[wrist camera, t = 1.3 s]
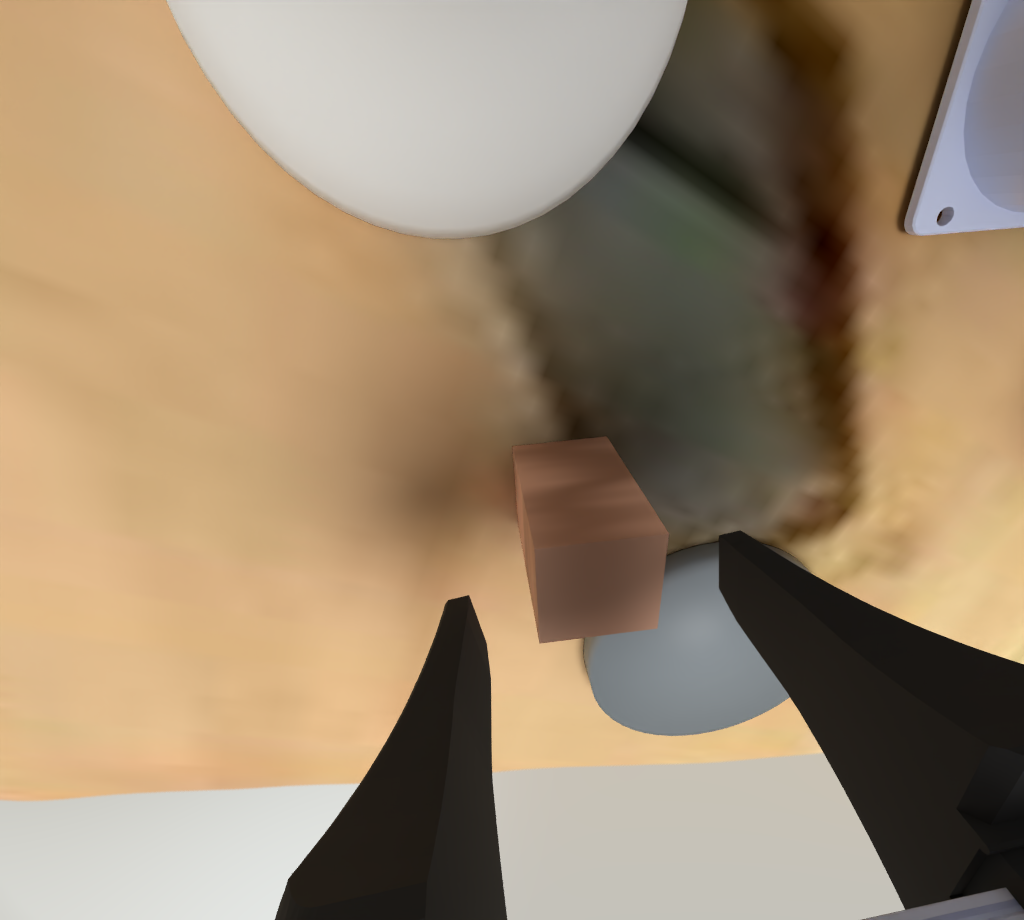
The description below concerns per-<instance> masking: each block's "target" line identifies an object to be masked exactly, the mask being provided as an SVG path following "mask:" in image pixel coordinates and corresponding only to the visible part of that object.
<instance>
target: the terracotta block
mask: <svg viewBox="0 0 1024 920" xmlns="http://www.w3.org/2000/svg"><path fill="white" fill-rule="evenodd" d="M512 450H513V463H514V477H515V490H516V504H517V517H518V527H519V532H520V538H521V543H522V549H523V554H524V560H525V565H526V571H527V577H528V582H529V588H530V593H531V599H532V604H533V610H534V615H535V621H536V626H537V632H538V638H539V643H547V642H555V641H563V640H571V639H579V638H587V637H595V636H602V635H610V634H618V633H626V632H634V631H642V630H650V629H657V628H658V620H659V612H660V604H661V595H662V587H663V579H664V571H665V563H666V555H667V547H668V539H669V533H668V531H667V530H666V528H665V527H664V525H663V523H662V522H661V520H660V519H659V517H658V516H657V514H656V512H655V511H654V509H653V508H652V506H651V505H650V503H649V502H648V500H647V498H646V497H645V495H644V494H643V492H642V491H641V489H640V488H639V486H638V484H637V483H636V481H635V480H634V478H633V477H632V475H631V474H630V472H629V470H628V469H627V467H626V466H625V464H624V463H623V461H622V459H621V458H620V456H619V455H618V453H617V452H616V450H615V449H614V447H613V445H612V444H611V442H610V441H609V439H608V438H607V436H606V437H596V438H586V439H577V440H567V441H557V442H548V443H538V444H528V445H519V446H512Z"/></svg>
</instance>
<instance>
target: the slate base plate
mask: <svg viewBox="0 0 1024 920" xmlns="http://www.w3.org/2000/svg"><path fill="white" fill-rule="evenodd" d="M763 545H765V546H766V547H768V548H769V549H771V550H773V551H774V552H776V553H778V554H779V555H781V556H782V557H784V558H786V559H787V560H789V561H791V562H792V563H794V564H796V565H797V566H799V567H801V568H802V569H804V570H806V571H808V572H809V570H808V569H807V568H806V567H805V566H804V565H803V564H802V563H801V562H800V561H799V560H797V559H796V558H794V557H793V556H792V555H790V554H788V553H786V552H784V551H782V550H780V549H778V548H775V547H772V546H769V545H766V544H763ZM809 573H810V572H809ZM583 652H584V662H585V665H586V669H587V673H588V676H589V680H590V684H591V687H592V691H593V694H594V697H595V699H596V701H597V703H598V705H599V706H600V707H601V709H602V710H603V711H604V712H605V713H606V714H607V715H608V716H609V717H611V718H612V719H613V720H615V721H616V722H618V723H620V724H621V725H623V726H626V727H628V728H630V729H633V730H636V731H640V732H644V733H649V734H655V735H667V736H682V735H693V734H701V733H707V732H712V731H716V730H720V729H724V728H728V727H731V726H734V725H737V724H740V723H742V722H745V721H747V720H750V719H752V718H754V717H757V716H759V715H761V714H763V713H765V712H767V711H769V710H770V709H772V708H774V707H775V706H777V705H779V704H780V703H782V702H783V701H785V700H786V699H788V698H789V697H790V696H789V695H788V693H787V692H786V690H785V689H784V688H783V686H782V685H781V683H780V682H779V681H778V679H777V678H776V676H775V675H774V673H773V672H772V671H771V669H770V668H769V666H768V665H767V664H766V662H765V661H764V659H763V658H762V657H761V655H760V654H759V652H758V651H757V650H756V648H755V647H754V645H753V644H752V643H751V641H750V640H749V638H748V637H747V635H746V634H745V633H744V631H743V630H742V628H741V627H740V625H739V624H738V623H737V621H736V619H735V617H734V616H733V614H732V612H731V610H730V609H729V607H728V605H727V603H726V601H725V599H724V597H723V595H722V593H721V592H720V590H719V542H716V543H710V544H704V545H699V546H695V547H692V548H688V549H684V550H681V551H678V552H676V553H673V554H670V555H668V556H666V563H665V571H664V579H663V587H662V595H661V604H660V612H659V620H658V628H657V629H650V630H642V631H634V632H626V633H618V634H610V635H602V636H595V637H587V638H585V639H584V649H583Z"/></svg>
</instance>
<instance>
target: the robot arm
mask: <svg viewBox="0 0 1024 920" xmlns="http://www.w3.org/2000/svg"><path fill="white" fill-rule="evenodd" d="M941 211H942V216H941V218H940V220H939V221H938V222H937V216H938V215H939V213H940V212H941ZM904 227H905V231H906V232H907V233H908V234H910V235H920V236H925V235H937V234H949V233H961V232H973V231H985V230H997V229H1009V228H1021V227H1024V0H972V3H971V6H970V9H969V12H968V16H967V19H966V22H965V25H964V29H963V32H962V35H961V38H960V42H959V45H958V48H957V51H956V55H955V58H954V61H953V64H952V68H951V71H950V74H949V77H948V81H947V84H946V87H945V90H944V94H943V97H942V100H941V103H940V107H939V110H938V113H937V116H936V120H935V123H934V126H933V129H932V133H931V136H930V139H929V142H928V146H927V149H926V152H925V155H924V159H923V162H922V165H921V168H920V172H919V175H918V178H917V181H916V185H915V188H914V191H913V194H912V198H911V201H910V204H909V207H908V211H907V214H906V217H905V222H904ZM719 590H720V592H721V593H722V595H723V597H724V599H725V601H726V603H727V605H728V607H729V609H730V610H731V612H732V614H733V616H734V617H735V619H736V621H737V623H738V624H739V625H740V627H741V628H742V630H743V631H744V633H745V634H746V635H747V637H748V638H749V640H750V641H751V643H752V644H753V645H754V647H755V648H756V650H757V651H758V652H759V654H760V655H761V657H762V658H763V659H764V661H765V662H766V664H767V665H768V666H769V668H770V669H771V671H772V672H773V673H774V675H775V676H776V678H777V679H778V681H779V682H780V683H781V685H782V686H783V688H784V689H785V690H786V692H787V693H788V695H789V696H790V698H791V699H792V701H793V702H794V704H795V705H796V707H797V708H798V710H799V711H800V713H801V715H802V716H803V718H804V720H805V722H806V723H807V725H808V727H809V728H810V730H811V732H812V734H813V735H814V737H815V739H816V740H817V742H818V744H819V746H820V747H821V749H822V751H823V753H824V754H825V756H826V758H827V760H828V762H829V763H830V765H831V767H832V768H833V770H834V772H835V774H836V776H837V777H838V779H839V781H840V783H841V785H842V787H843V788H844V790H845V792H846V794H847V796H848V797H849V800H850V801H851V803H852V805H853V807H854V809H855V811H856V813H857V815H858V817H859V819H860V820H861V822H862V824H863V826H864V828H865V830H866V832H867V834H868V835H869V837H870V839H871V841H872V843H873V845H874V847H875V849H876V851H877V853H878V855H879V857H880V859H881V861H882V863H883V865H884V867H885V869H886V871H887V873H888V875H889V877H890V879H891V881H892V883H893V885H894V887H895V889H896V891H897V893H898V895H899V897H900V900H901V902H902V904H903V906H904V908H905V910H903V911H898V912H894V913H890V914H885V915H880V916H876V917H871V918H867V919H862V920H1024V665H1023V664H1020V663H1017V662H1014V661H1011V660H1008V659H1005V658H1002V657H999V656H996V655H993V654H990V653H987V652H984V651H982V650H979V649H976V648H973V647H970V646H967V645H965V644H962V643H959V642H957V641H954V640H952V639H949V638H946V637H944V636H941V635H939V634H936V633H934V632H931V631H928V630H926V629H924V628H921V627H919V626H916V625H914V624H912V623H909V622H907V621H905V620H902V619H900V618H898V617H896V616H894V615H891V614H889V613H887V612H885V611H882V610H880V609H878V608H876V607H874V606H872V605H870V604H868V603H865V602H863V601H861V600H859V599H857V598H856V597H854V596H852V595H850V594H848V593H846V592H844V591H842V590H840V589H838V588H836V587H834V586H833V585H831V584H829V583H827V582H825V581H823V580H822V579H820V578H818V577H816V576H815V575H813V574H811V573H809V572H808V571H806V570H804V569H802V568H801V567H799V566H797V565H796V564H794V563H792V562H791V561H789V560H787V559H786V558H784V557H782V556H781V555H779V554H778V553H776V552H774V551H773V550H771V549H769V548H768V547H766V546H765V545H763V544H761V543H760V542H758V541H757V540H755V539H753V538H752V537H750V536H749V535H747V534H745V533H744V532H742V531H736V532H732V533H728V534H724V535H720V536H719ZM275 920H507V915H506V907H505V897H504V889H503V880H502V871H501V862H500V853H499V844H498V834H497V825H496V815H495V803H494V794H493V783H492V748H491V677H490V667H489V659H488V651H487V643H486V640H485V638H484V635H483V632H482V629H481V627H480V624H479V621H478V619H477V616H476V613H475V610H474V608H473V605H472V602H471V599H470V597H469V595H468V596H464V597H460V598H456V599H451V600H448V601H447V603H446V604H445V607H444V611H443V614H442V617H441V620H440V623H439V626H438V629H437V632H436V635H435V638H434V640H433V643H432V646H431V648H430V651H429V653H428V656H427V658H426V661H425V663H424V666H423V668H422V671H421V673H420V675H419V678H418V680H417V682H416V684H415V686H414V689H413V691H412V693H411V695H410V697H409V699H408V702H407V704H406V706H405V708H404V710H403V712H402V714H401V716H400V717H399V719H398V721H397V723H396V725H395V727H394V729H393V730H392V732H391V734H390V736H389V738H388V739H387V741H386V743H385V745H384V746H383V748H382V750H381V751H380V753H379V755H378V756H377V758H376V760H375V761H374V763H373V764H372V766H371V768H370V769H369V771H368V772H367V774H366V776H365V777H364V779H363V780H362V782H361V783H360V785H359V786H358V788H357V789H356V790H355V792H354V793H353V795H352V796H351V798H350V799H349V800H348V802H347V803H346V805H345V806H344V808H343V809H342V810H341V812H340V813H339V815H338V816H337V818H336V819H335V820H334V822H333V823H332V824H331V826H330V827H329V828H328V830H327V831H326V832H325V834H324V835H323V836H322V838H321V839H320V840H319V841H318V843H317V844H316V845H315V846H314V848H313V849H312V850H311V851H310V853H309V854H308V855H307V856H306V858H305V859H304V860H303V861H302V863H301V864H300V865H299V867H298V868H297V869H296V870H295V871H294V873H293V874H292V875H291V876H290V878H289V879H288V882H287V885H286V888H285V891H284V894H283V897H282V899H281V902H280V905H279V908H278V911H277V915H276V918H275Z"/></svg>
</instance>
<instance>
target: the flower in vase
mask: <svg viewBox="0 0 1024 920" xmlns="http://www.w3.org/2000/svg"><path fill="white" fill-rule="evenodd" d="M166 1H167V3H168V6H169V8H170V10H171V12H172V14H173V17H174V19H175V21H176V23H177V25H178V27H179V30H180V32H181V34H182V36H183V38H184V40H185V41H186V43H187V45H188V47H189V48H190V50H191V52H192V54H193V55H194V57H195V59H196V61H197V62H198V64H199V66H200V68H201V69H202V71H203V73H204V75H205V76H206V78H207V80H208V81H209V82H210V84H211V85H212V87H213V88H214V89H215V91H216V92H217V94H218V95H219V97H220V98H221V99H222V101H223V102H224V104H225V105H226V107H227V108H228V109H229V111H230V112H231V114H232V115H233V116H234V117H235V118H236V120H237V121H238V122H239V123H240V124H241V125H242V127H243V128H244V129H245V130H246V131H247V132H248V134H249V135H250V136H251V137H252V138H253V139H254V141H255V142H256V143H257V144H258V145H259V146H260V147H261V148H262V149H263V150H264V151H265V152H266V153H267V154H268V155H269V156H270V157H271V158H272V159H273V160H274V161H275V162H276V163H277V164H278V165H280V166H281V167H282V168H283V169H284V170H285V171H286V172H287V173H288V174H289V175H291V176H292V177H293V178H295V179H296V180H297V181H298V182H300V183H301V184H302V185H304V186H305V187H306V188H308V189H309V190H310V191H311V192H313V193H314V194H315V195H317V196H319V197H320V198H322V199H324V200H325V201H327V202H329V203H330V204H332V205H334V206H335V207H337V208H339V209H340V210H342V211H344V212H345V213H348V214H350V215H352V216H354V217H357V218H359V219H361V220H363V221H366V222H368V223H370V224H372V225H375V226H378V227H381V228H385V229H388V230H391V231H395V232H398V233H401V234H406V235H412V236H419V237H425V238H432V239H464V238H471V237H479V236H486V235H491V234H494V233H498V232H501V231H505V230H508V229H512V228H515V227H518V226H520V225H522V224H525V223H527V222H529V221H531V220H533V219H536V218H538V217H540V216H542V215H544V214H545V213H547V212H549V211H550V210H552V209H553V208H555V207H557V206H558V205H560V204H561V203H563V202H565V201H566V200H568V199H569V198H570V197H571V196H572V195H574V194H575V193H576V192H577V191H578V190H580V189H581V188H582V187H583V186H584V185H586V184H587V183H588V182H589V181H590V180H592V178H593V177H594V176H595V175H596V174H597V173H598V172H599V171H600V170H601V169H602V168H603V167H604V166H605V165H606V164H607V162H608V161H609V160H610V159H611V158H612V157H613V156H614V155H615V153H616V152H617V151H618V149H619V148H620V147H621V145H622V144H623V143H624V141H625V140H626V139H627V137H628V136H629V135H630V133H631V132H632V130H633V129H634V128H635V126H636V124H637V122H638V121H639V119H640V117H641V116H642V114H643V112H644V110H645V109H646V107H647V105H648V104H649V102H650V100H651V98H652V97H653V95H654V92H655V90H656V88H657V86H658V84H659V81H660V79H661V77H662V75H663V72H664V70H665V68H666V66H667V64H668V61H669V59H670V56H671V53H672V50H673V47H674V44H675V41H676V38H677V35H678V32H679V30H680V27H681V24H682V21H683V17H684V13H685V9H686V4H687V0H166Z"/></svg>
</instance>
